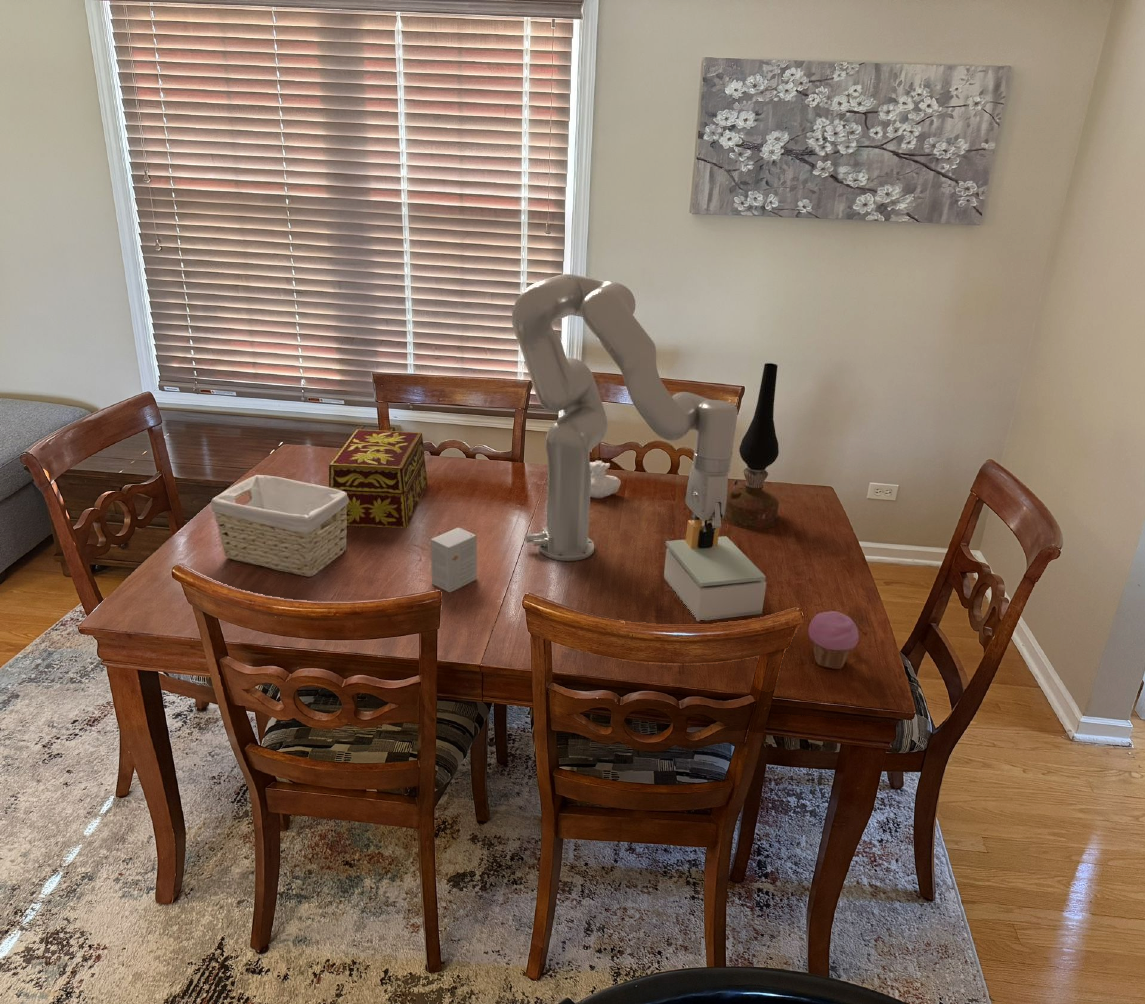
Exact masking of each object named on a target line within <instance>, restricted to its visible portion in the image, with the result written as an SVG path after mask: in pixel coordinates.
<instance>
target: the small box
mask: <svg viewBox="0 0 1145 1004" xmlns="http://www.w3.org/2000/svg"><path fill="white" fill-rule="evenodd" d="M477 538H478V537H477V535H476V534H474V533H473V532H470V531H467V530H465V529H463V528H461V527H456V528H454V529H452V530H449V531H447V532H444V533H442V534H439V535H437V536H435V537H433V538H431V539H430V565H431V569H430V570H431V584H432V585H433V586H435V587H438V588H439V589H442V590H444V591H446V592H447V593H452V592H454V591H456V590H459V589H461V588H462V587H464V586H466V585H468V584H470V583H472V582H474V581H476V580H477V579H478V560H477V559H478V553H477V552H478V549H477V548H478V547H477V544H478V543H477V541H478V540H477Z"/></svg>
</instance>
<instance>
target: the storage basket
mask: <svg viewBox="0 0 1145 1004" xmlns="http://www.w3.org/2000/svg"><path fill="white" fill-rule="evenodd" d="M247 493H248V494H247ZM246 494H247V496H248V497H249V501H248V502H247V503H245V504H239V503H237V502H236V500H238V499H239V498H241V497H243V496H244V495H246ZM210 503H211V507H210V508H211V511H212V512H213V513H214V518H215V522H216V523H217V529H218V533H219V536H220V542H221V545H222V549H223V551H224V556H225V557H226V558H228V559H230V560H234V561H238V562H243V563H247V564H252V565H254V566H262V567H264V568H269V569H272V570H275V571H279V572H285V573H291V574H295V575H300V576H304V577H308V578H309V577H310V578H311V577H313V576H315V575H316V574H317V573H319V572H320V571H321V570H323V569H325V568H326V567H328V565H330V563H332V562H333V561H335V560H336V559H337V558H338V557H341V556H342V554H343V553H344V552H345V551H346V550H347V534H348V533H347V532H348V531H347V520H346V518H347V515H346V513H347V510H346V508H347V504H348V503H349V499H348V497H347V493H345V492H343V491H341V490H337V489H333V488H329V486H323V485H319V484H315V483H314V484H313V483H309V482H305V481H299V480H295V479H289V478H285V477H280V476H272V475H266V474H262V475H261V474H255V475H254V476H251V477H249V478H247V479H244V480H243V481H240V482H238V483H236V484H235V485H234V486H231V487H230V488H228V489H226V490H224V491H223V492H221V493H220V494H218V495H216V496H215V497H213V498H212V499H211V502H210Z"/></svg>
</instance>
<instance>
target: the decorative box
mask: <svg viewBox="0 0 1145 1004" xmlns="http://www.w3.org/2000/svg"><path fill="white" fill-rule="evenodd" d="M423 439H424V438H423V433H422V432H420V431H419V432H418V431H417V432H416V431H397V430H395V431H394V430H376V429H375V430H374V429H373V430H372V429H356V430H355V431H354V432H353V434H352V435H351V436H350V438H348V440H347V442H345V444H344V445H343V446H342V448H341V449H340V450H339V452H337V454H336V455H335V457H334V458H333V459H332V460H331V462H330V463H329V466H328V487H329V488H333V489H337V490H341V491H343V492H345V493H347V497H348V499H349V503H348V504H347V508H346V510H347V513H346V515H347V518H346V520H347V526H349V527H369V528H388V529H389V528H390V529H391V528H392V529H407V528H408V527H409V525H410V523H411V521H412V519H413V517H414V514H415V512H416V510H417V508H418V506H419V503H420V501H421V500H422V497H423V495H424V493H425V490H426V489H427V486H428V475H427V466H426V458H425V457H426V455H425V447H424V440H423ZM347 526H346V527H347Z"/></svg>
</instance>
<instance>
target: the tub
mask: <svg viewBox="0 0 1145 1004" xmlns="http://www.w3.org/2000/svg"><path fill="white" fill-rule="evenodd" d="M663 571H664V573H663V578H664V580H665V581H666V583H667V584H668V585H669V586H670V588H671V587H672V588H671V590H673V592H674V591H675V592H676V593H675V592H674V593H675V595H676V596H677V597H678V596H679V597H680V598H679V597H678V598H679V599H680V601H681V600H682V601H683V602H682V601H681V602H682V603H683V605H684V604H685V605H686V606H687V607H686V606H685V605H684V606H685V607H686V608H687V610H688V609H689V610H690V611H691V612H690V611H689V610H688V611H689V612H690V614H691V613H692V614H691V616H693V615H694V616H693V617H695V618H696V619H695V618H694V619H695V620H696V622H701V621H700V620H705V621H711V620H719V619H728V618H736V617H737V618H738V617H745V616H746V617H747V616H755V615H762V614H763V608H764V601H765V595H766V591H767V582H766V580H763V581H753V582H742V583H732V584H722V585H712V586H702V587H700V586H699V585H698V584H697V582H696V581H695V580H694V579H693V578H692V576H691V575H690V574H689V573H688V571H687V570H686V569H685V568H684V567H683V565H682V564H681V563H680V562H679V560H678V559H677V558H676V557H675V556H674V554H673V553H672V552H671V551H670V549H669V548H668V547H667V548H666V551H665V561H664V570H663Z"/></svg>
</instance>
